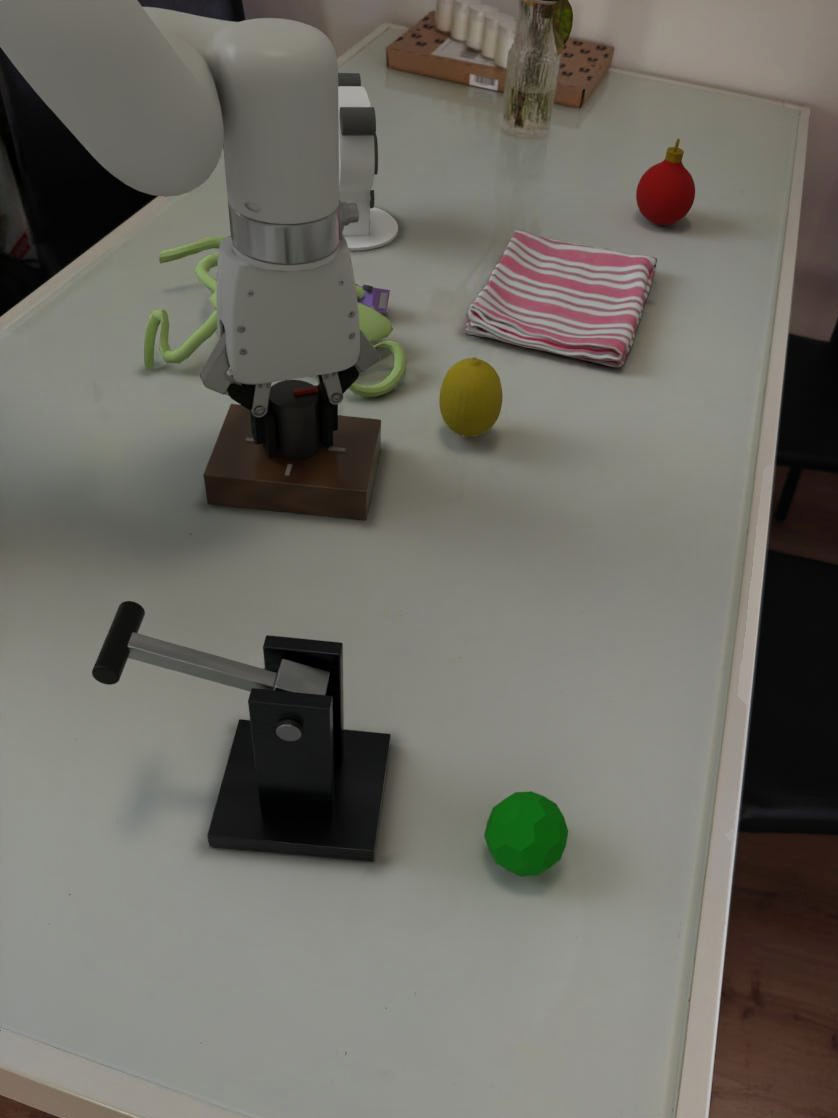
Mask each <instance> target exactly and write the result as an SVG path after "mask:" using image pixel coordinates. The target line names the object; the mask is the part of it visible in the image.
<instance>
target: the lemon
mask: <svg viewBox="0 0 838 1118" xmlns="http://www.w3.org/2000/svg"><path fill="white" fill-rule="evenodd" d="M502 387H503V386H502V382H501V378H500V376H499V374H498V372H497V371H496V369H495V368H494V367H493V366H492V365H491V364H490V363H488V362H487V361H485V360H483V359H480V358H478V357H469V358H464V359H461V360H459V361H457V362H456V363H454V364H453V365H452V366H450V367H449V369H448V370H447V372H446V373H445V375H444V377H443V380H442V383H441V386H440V389H439V398H438V399H439V400H438V402H439V403H438V405H439V411H440V415H441V417H442V420H443V422H444V424H445V425H446V426H447V427H448V428H449V429H450V430H451V431H452V432H454V433H455V434H457V435H459V436H463V437H464V438H465V439H466V438H467V439H468V438H473V437H479V436H481V435H484V434H485V433H487V432H488V431H490V430H491V429H492V428H493V426H495V424H496V422H497V421H498V420H499V418H500V413H501V410H502V406H503V398H504V397H503V388H502Z"/></svg>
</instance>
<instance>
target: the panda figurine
mask: <svg viewBox="0 0 838 1118" xmlns="http://www.w3.org/2000/svg"><path fill="white" fill-rule="evenodd" d="M361 80H362V78H361V74H360V72H338V118H339V200H340V201H341V202H344V201H345V202H346V203H356V205H357V207H358V212H359V220H358V222H356V223H349V225H348V226H344V229H343V231H342V234H343V236H344V238H345V240H346V242H347V244H348V248H349V252H350V251H351V252H355V251H356V252H357V251H358V252H359V251H369V250H374V249H377V248H380V247H384V246H386V245H388V244H390V243H391V242H393V241H394V240H395V239H396V237H397V235H398V233H399V224H398V222H397V220H396V219H395V217H393V216H392V215H391V214H390V213H388V212H387V211H385V210H383V209H381V208H378V207H375V201H376V199H375V198H376V197H375V190H374V189H372V188H373V185H374V181H375V176H377V175H378V172H379V145H378V144H379V143H378V135H377V117H376V110H375V109H376V108H375V107H374V106H371V101H370V99H369V96H368V93H367V90H366V88H365V87H364V86H362V81H361Z"/></svg>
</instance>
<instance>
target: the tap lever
mask: <svg viewBox="0 0 838 1118" xmlns="http://www.w3.org/2000/svg"><path fill="white" fill-rule="evenodd" d="M145 615H146V611H145V608H144V607H143V605H141V604H140V603H138V602H136V601H133V600H125V601H122V602H120V604H119V605H118V608H117V610H116V613H115V615H114V617H113V620H112V622H111V625H110V627H109V629H108V631H107V634H106V637H105V638H104V640H103V642H102V645H101V648H100V650H99V653H98V655H97V658H96V660H95V662H94V665H93V668H92V670H91V675H92V678H93V679H94V680H95V681H97V682H98V683H99V684H103V685H107V686H108V685H109V686H113V685H115V684H117V683H118V682H120V679H121V677H122V674H123V671H124V669H125V668H126V664H127V661H128V660H129V659H130V660H135V661H136V662H137V661H138V662H141V663H144V664H149V665H152V666H154V667H155V666H156V667H160V668H163V669H167V670H170V671H174V672H177V673H181V674H185V675H188V676H191V677H196V678H200V679H201V680H207V681H209V682H214V683H217V684H220V685H225V686H227V687H232V688H235V689H238V690H243V691H246V692H249V693H250V692H251V689H252V688H257V689H267V690H277V691H287V692H298V693H308V694H318V695H325V694H326V689H327V685H328V680H329V675H330V672H329V671H325V670H322V669H318V668H315V667H311V666H308V665H304V664H301V663H297V662H294V661H290V660H287V659H282V660H281V663H280V666H279V668H278V671H277V673H276V672H272V671H269V670H265V668H262V667H258V666H256V665H255V666H254V665H251V664H247V663H243V662H240V661H237V660H233V659H230V658H226V657H224V656H223V657H222V656H219V655H215V654H212V653H208V652H204V651H202V650H197V649H195V648H190V647H187V646H183V645H180V644H177V643H173V642H171V641H170V642H169V641H167V640H163V639H159V638H155V637H151V636H148V635H145V634H141V633H139V631H140V629H141V625H142V623H143V620H144V618H145Z"/></svg>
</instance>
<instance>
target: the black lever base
mask: <svg viewBox="0 0 838 1118" xmlns="http://www.w3.org/2000/svg"><path fill="white" fill-rule="evenodd" d="M262 653H263V664H264V669H265V670H269V671H272V672H276V673H277V671H278V668H279V666H280V663H281V660H282V659H287V660H290V661H294V662H297V663H301V664H304V665H308V666H311V667H315V668H318V669H322V670H325V671H329V672H330V675H329V680H328V685H327V689H326V694H325V695H318V694H308V693H298V692H287V691H277V690H267V689H257V688H252V689H251V692H249V696H248V699H247V704H248V713H249V719H243V718H242V719H241V718H240V719H238V722H237V725H236V728H235V729H236V730H235V733H234V737H233V740H232V744H231V748H230V751H229V755H228V758H227V762H226V766H225V769H224V773H223V777H222V780H221V783H220V787H219V791H218V794H217V798H216V803H215V806H214V810H213V813H212V817H211V821H210V825H209V828H208V832H207V835H206V836H207V843H208V847H211V848H223V849H231V850H232V849H233V850H241V851H242V850H243V851H255V852H264V853H275V854H287V855H296V856H308V857H316V858H317V857H319V858H329V859H339V860H350V861H361V862H370V863H372V862H374V861H375V856H376V848H377V842H378V835H379V827H380V822H381V821H380V820H381V815H382V813H381V812H382V806H383V799H384V792H385V787H386V786H385V785H386V777H387V771H388V763H389V757H390V749H391V738H392V737H391V736H392V735H391V733H385V732H377V731H376V732H375V731H365V730H353V729H345V727H344V726H345V725H344V723H345V722H344V721H345V720H344V719H345V718H344V716H345V715H344V644H343V642H340V641H331V640H330V641H329V640H321V639H320V640H319V639H311V638H308V639H307V638H302V637H301V638H300V637H291V636H290V637H289V636H282V635H281V636H280V635H270V634H267V635H265V638H264V640H263V645H262Z"/></svg>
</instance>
